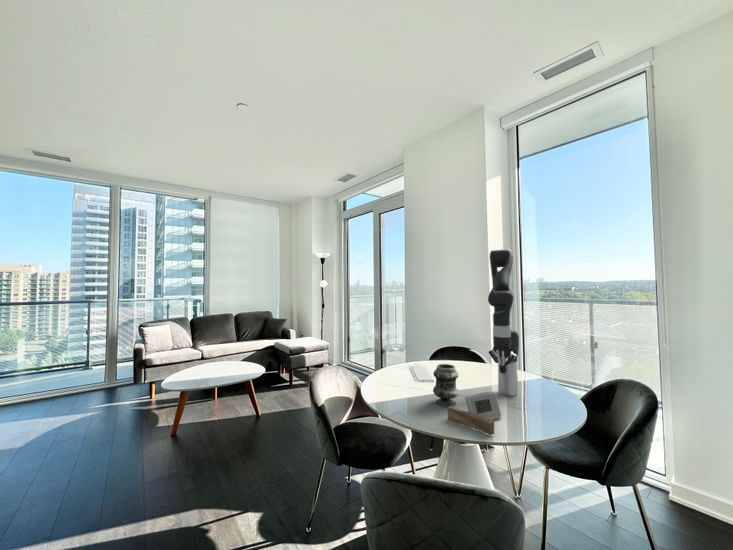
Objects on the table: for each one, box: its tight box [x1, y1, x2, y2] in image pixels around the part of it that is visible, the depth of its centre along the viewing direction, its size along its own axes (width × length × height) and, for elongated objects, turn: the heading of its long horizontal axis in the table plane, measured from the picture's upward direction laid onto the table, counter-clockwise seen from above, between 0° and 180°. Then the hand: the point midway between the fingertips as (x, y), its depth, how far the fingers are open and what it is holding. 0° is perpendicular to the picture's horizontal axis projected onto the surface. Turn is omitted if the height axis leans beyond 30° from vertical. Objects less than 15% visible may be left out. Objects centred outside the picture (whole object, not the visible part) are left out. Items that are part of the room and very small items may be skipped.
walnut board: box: [447, 406, 495, 435], centre depth 134 cm, size 2×20×5 cm, turn 39°
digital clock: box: [465, 391, 502, 421], centre depth 140 cm, size 16×9×11 cm, turn 102°
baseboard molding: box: [408, 363, 435, 382], centre depth 207 cm, size 31×3×12 cm
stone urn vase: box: [432, 363, 460, 408], centre depth 159 cm, size 12×12×18 cm
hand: (503, 373), depth 149 cm, fingers closed
